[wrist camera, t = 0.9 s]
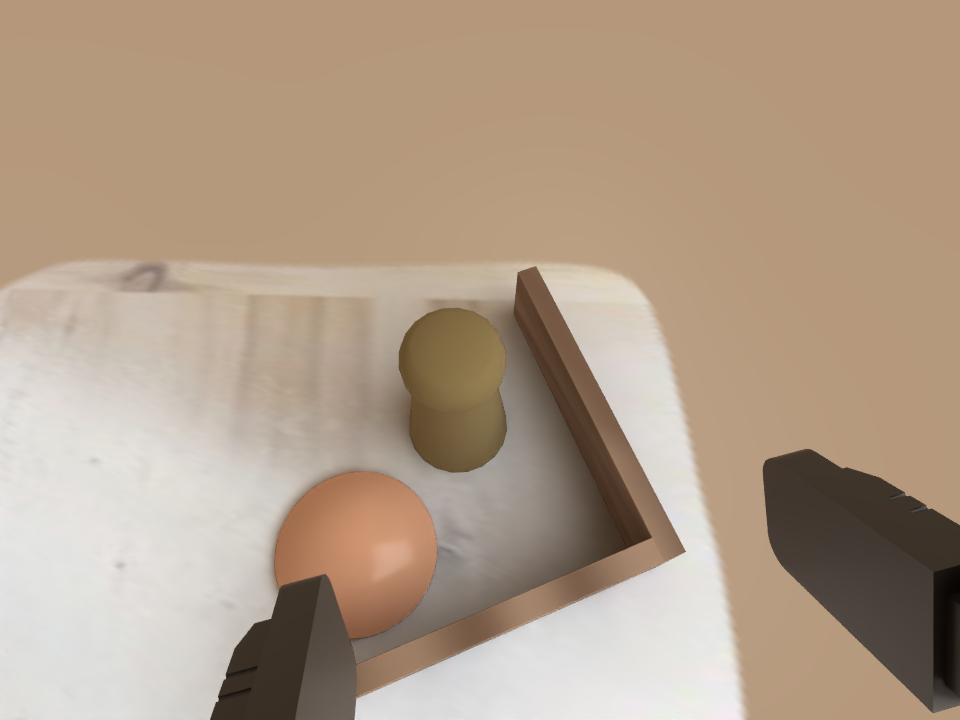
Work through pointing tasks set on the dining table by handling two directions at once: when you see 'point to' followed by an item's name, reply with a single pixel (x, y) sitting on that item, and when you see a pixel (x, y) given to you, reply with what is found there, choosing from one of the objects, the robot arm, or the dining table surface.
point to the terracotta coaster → (361, 548)
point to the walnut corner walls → (612, 473)
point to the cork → (454, 388)
